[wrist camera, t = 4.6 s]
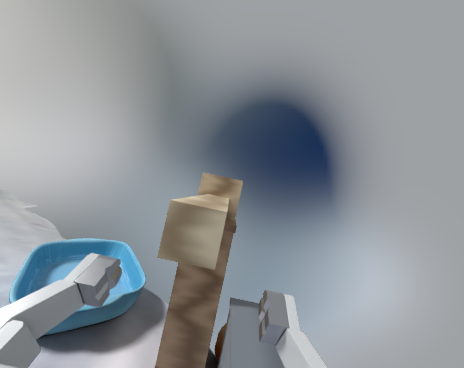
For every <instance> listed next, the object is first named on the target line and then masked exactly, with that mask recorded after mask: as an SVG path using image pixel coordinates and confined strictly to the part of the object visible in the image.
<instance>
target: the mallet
mask: <svg viewBox="0 0 464 368" xmlns="http://www.w3.org/2000/svg"><path fill="white" fill-rule="evenodd" d="M242 184H243V181H240V180H235V179H231V178H226V177H222V176H217V175H212V174H207V173H203V176H202V180H201V184H200V189H199V193H198V196H193V197H186V198H180V199H173V200H170V204H169V209H168V213H167V218H166V222H165V227H164V231H163V235H162V240H161V244H160V249H159V253H158V258H162V259H167V260H171V261H176V262H181V263H185V264H190V265H195V266H199V267H204V268H208V269H213V270H215V267H216V262H217V257H218V253H219V248H220V244H221V239H222V234H223V230H224V225H225V220H230V221H235V217H236V212H237V207H238V203H239V198H240V193H241V189H242Z"/></svg>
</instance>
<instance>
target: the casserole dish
mask: <svg viewBox="0 0 464 368" xmlns="http://www.w3.org/2000/svg"><path fill="white" fill-rule="evenodd" d="M91 253H95V254H100V255H103V256H108V257H112V258H117V259H120V261H121V264H120V265H119V266H120V267H121V268H122V275H121V278H120V280H119V282H118V283H117V285H116V286H115V287H114V288H112V289H110V295H109V296H108V298H107V299H106V301H105V302H104V304H103V305H102V306H101V308H100V307H94V306H89V305H84V306H83V307H82V308H80V309H79V310H77V311H76V312H75V313H73V314H72V315H70V316H69V317H67V318H66V319H65V320H63V321H62V322H60V323H59V324H58V325H56V326H55V327H53V328H52V329H51V330H49V331H48V332H46V333H45V334H44V335H48V334H54V333H59V332H64V331H68V330H72V329H76V328H80V327H82V326H88V325H92V324H96V323H99V322H103V321H106V320H110V319H113V318H115V317H117V316H120V315H121V314H123V313H125V312H126V311H127V310H128V309H129V308H130V307H131V306H132V305H133V304H134V302H135V301H136V299H137V297H138V296H139V294H140V292H141V290H142V288H143V287H144V285H145V282H146V277H145V273H144V271H143V269H142V267H141V265H140V264H139V262H138V260H137V258H136V256H135V254H134V253H133V251H132V249H131V248H130V247H129V245H127V244H126V243H124V242H120V241H114V240H103V239H71V240H65V241H55V242H48V243H45V244H42V245H39V246H37V247H36V248H34V249H33V250H32V251H31V253H30V254H29V255H28V257H27V258H26V260H25V262H24V264H23V266H22V268H21V270H20V271H19V273H18V275H17V277H16V279H15V281H14V283H13V285H12V287H11V290H10V294H9V301H10V304H11V303H13V302H15V301H17V300H19V299H21V298H23V297H25V296H27V295H29V294H32V293H34V292H36V291H38V290H40V289H42V288H44V287H46V286H48V285H50V284H52V283H54V282H56V281H58V280H63V279H64V278H65V277H66V276H67V275H68V274H69V273H70V272H71V271H72V270H73V269H74V268H75V267H76V266H77V265H78V264H79V263H80V262H81V261H82V260H83V259H84V258H85V257H86V256H87V255H89V254H91Z"/></svg>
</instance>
